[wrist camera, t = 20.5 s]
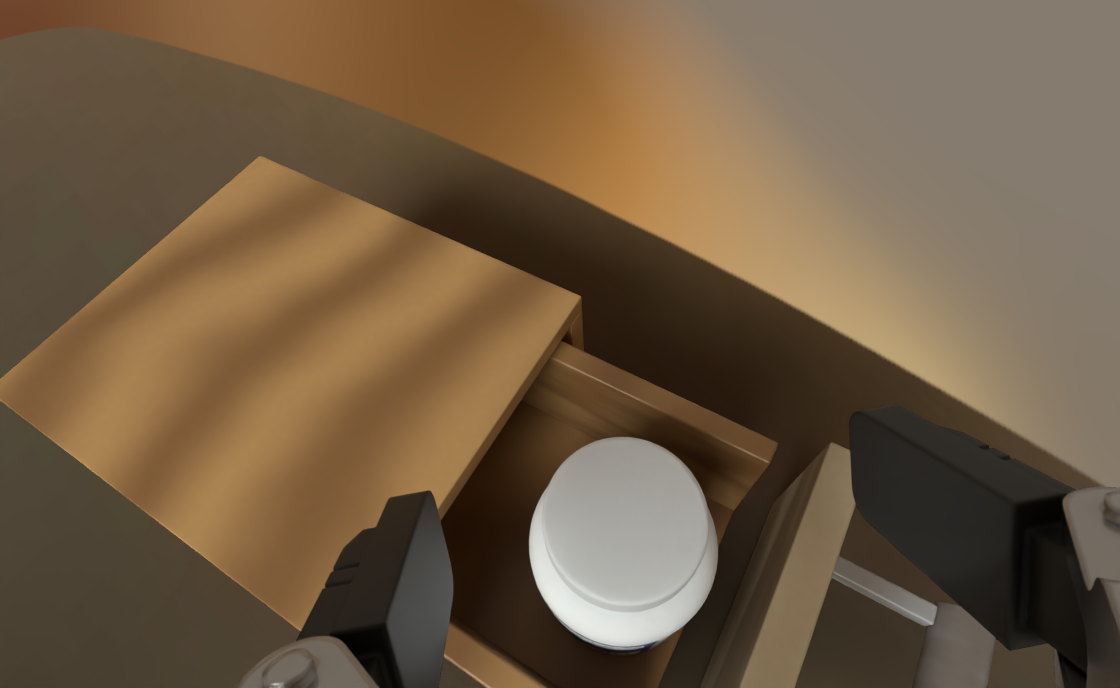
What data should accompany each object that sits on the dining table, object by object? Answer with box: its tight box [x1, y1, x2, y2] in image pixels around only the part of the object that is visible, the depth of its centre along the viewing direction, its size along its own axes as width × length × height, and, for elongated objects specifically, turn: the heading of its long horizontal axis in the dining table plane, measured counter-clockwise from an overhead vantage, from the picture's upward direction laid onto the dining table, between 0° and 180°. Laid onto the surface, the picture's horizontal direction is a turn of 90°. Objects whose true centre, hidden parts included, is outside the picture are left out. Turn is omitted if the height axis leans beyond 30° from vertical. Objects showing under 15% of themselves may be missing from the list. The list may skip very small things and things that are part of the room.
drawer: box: [440, 341, 996, 688], centre depth 19 cm, size 20×11×7 cm, turn 60°
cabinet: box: [0, 156, 584, 631], centre depth 23 cm, size 16×13×9 cm
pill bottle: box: [529, 437, 718, 656], centre depth 17 cm, size 5×5×9 cm
